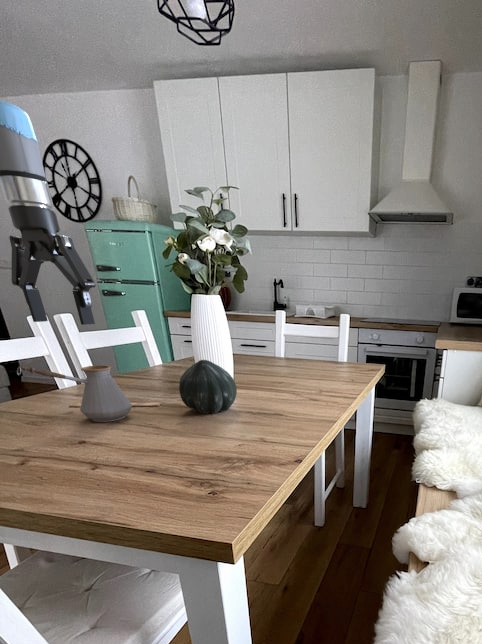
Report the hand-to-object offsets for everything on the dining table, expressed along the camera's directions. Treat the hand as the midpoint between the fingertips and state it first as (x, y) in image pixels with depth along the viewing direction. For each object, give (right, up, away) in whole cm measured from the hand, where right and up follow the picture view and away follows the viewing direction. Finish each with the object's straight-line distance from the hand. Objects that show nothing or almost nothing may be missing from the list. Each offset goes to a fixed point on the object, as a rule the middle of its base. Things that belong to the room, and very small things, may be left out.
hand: (64, 323), depth 87 cm
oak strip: (-5, -13, +27) cm, 30 cm away
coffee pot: (-3, -20, +13) cm, 24 cm away
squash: (+23, -15, +25) cm, 37 cm away
